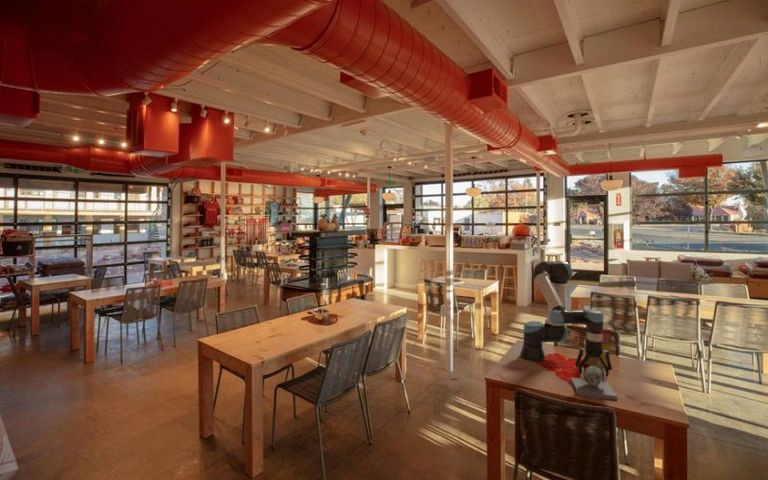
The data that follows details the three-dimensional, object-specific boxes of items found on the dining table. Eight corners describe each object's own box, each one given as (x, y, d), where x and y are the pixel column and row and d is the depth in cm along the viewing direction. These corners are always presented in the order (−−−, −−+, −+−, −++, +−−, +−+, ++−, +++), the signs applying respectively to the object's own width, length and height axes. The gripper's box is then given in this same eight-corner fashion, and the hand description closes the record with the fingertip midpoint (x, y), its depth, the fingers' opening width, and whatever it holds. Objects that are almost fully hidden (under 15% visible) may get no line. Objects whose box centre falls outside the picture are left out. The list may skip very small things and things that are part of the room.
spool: (604, 384, 190) (595, 364, 194) (585, 388, 195) (577, 369, 199) (609, 382, 200) (601, 363, 204) (591, 386, 205) (583, 367, 209)
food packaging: (610, 370, 225) (612, 330, 223) (595, 370, 225) (596, 330, 224) (598, 362, 238) (599, 323, 237) (583, 362, 238) (584, 323, 237)
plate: (578, 395, 194) (578, 391, 194) (570, 380, 211) (570, 377, 211) (617, 399, 189) (617, 396, 189) (606, 384, 206) (606, 381, 206)
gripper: (572, 340, 198) (571, 381, 199) (620, 344, 192) (619, 386, 193) (569, 335, 205) (568, 375, 206) (615, 339, 199) (614, 380, 200)
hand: (592, 380), depth 200 cm, fingers closed on spool, 10 cm apart
